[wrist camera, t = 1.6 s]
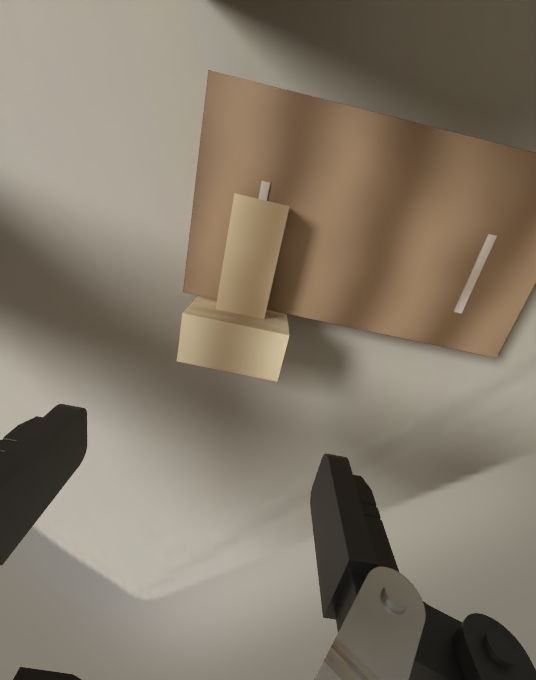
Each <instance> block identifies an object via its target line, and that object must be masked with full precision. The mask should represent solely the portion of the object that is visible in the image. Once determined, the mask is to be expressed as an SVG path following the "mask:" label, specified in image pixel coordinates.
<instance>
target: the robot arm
mask: <svg viewBox="0 0 536 680" xmlns="http://www.w3.org/2000/svg"><path fill="white" fill-rule="evenodd" d="M86 449H87V411H86V409H85V408H81V407H75V406H70V405H64V404H59V405H57V406H56V407H54V408H53V409H52V410H51V411H50V412H49V413H48V414H46V415H45V416H44V417H35V418H33V419H31V420H28V421H26V422H24V423H22V424H20V425H18V426H17V427H16V428H14V429H13V430H12V431H11V432H10V433H8V434H7V435H6V436H5V437H4V438H3V440H0V565H3V563H4V562H5V561H6V559H7V558H8V557H9V556H10V554H11V553H12V552H13V550H14V549H15V548H16V547H17V545H18V544H19V543H20V542H21V540H22V539H23V537H24V536H25V535H26V534H27V532H28V531H29V530H30V529H31V527H32V526H33V525H34V523H35V522H36V521H37V520H38V518H39V517H40V516H41V514H42V513H43V512H44V510H45V509H46V508H47V507H48V505H49V504H50V503H51V501H52V500H53V499H54V498H55V496H56V495H57V494H58V492H59V491H60V490H61V489H62V487H63V486H64V485H65V483H66V482H67V481H68V479H69V478H70V477H71V476H72V474H73V473H74V472H75V470H76V469H77V468H78V467H79V465H80V464H81V462H82V460H83V458H84V456H85V453H86ZM310 505H311V515H312V524H313V532H314V541H315V550H316V559H317V568H318V575H319V585H320V594H321V602H322V612H323V617H324V618H330V619H336V622H337V629H338V634H337V636H336V638H335V641H334V642H333V644H332V646H331V648H330V650H329V652H328V654H327V656H326V658H325V659H324V661H323V663H322V665H321V667H320V669H319V671H318V673H317V675H316V677H315V679H314V680H536V670H535V668H534V666H533V664H532V662H531V660H530V658H529V657H528V655H527V653H526V651H525V650H524V649H523V647H522V646H521V644H520V643H519V642H518V640H517V639H516V638H515V637H514V636H513V635H512V634H511V633H510V632H509V631H508V630H507V629H506V628H505V627H504V626H503V625H501V624H500V623H499V622H497V621H496V620H494V619H492V618H490V617H488V616H486V615H483V614H477V613H474V614H471V615H468V616H467V617H466V618H465V620H464V621H463V623H462V622H460V621H458V620H456V619H454V618H452V617H450V616H448V615H446V614H444V613H443V612H441V611H439V610H437V609H435V608H433V607H431V606H429V605H427V604H426V603H425V602H423V601H422V598H421V596H420V594H419V593H418V591H417V589H416V588H415V587H414V585H413V584H412V583H411V582H410V581H409V580H408V579H407V578H406V577H405V576H403V575H402V574H401V573H400V572H399V570H398V568H397V565H396V561H395V559H394V556H393V553H392V550H391V547H390V544H389V541H388V538H387V535H386V532H385V529H384V526H383V523H382V521H381V520H380V514H379V511H378V508H376V502H375V499H374V496H373V493H372V490H371V489H370V487H369V486H368V485H367V483H366V482H365V481H364V479H363V478H362V477H361V476H357V475H353V474H352V470H351V467H350V463H349V460H348V458H346V457H342V456H336V455H331V454H324V455H323V457H322V460H321V463H320V466H319V469H318V472H317V475H316V478H315V480H314V483H313V486H312V491H311V499H310ZM13 680H81V679H79V678H78V677H76V676H74V675H72V674H66V673H59V672H52V671H44V670H38V669H31V668H23V667H20V668H19V670H18V672H17V674H16V676H15V677H14V679H13Z"/></svg>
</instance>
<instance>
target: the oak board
mask: <svg viewBox="0 0 536 680" xmlns="http://www.w3.org/2000/svg"><path fill="white" fill-rule="evenodd" d="M234 193H236V194H240V195H244V196H248V197H253V198H257V199H261V200H265V201H270V202H274V203H278V204H282V205H286V206H290V207H289V211H288V216H287V220H286V224H285V229H284V233H283V238H282V242H281V247H280V251H279V256H278V260H277V265H276V269H275V273H274V278H273V282H272V287H271V291H270V296H269V300H268V305H267V309H266V310H271V311H276V312H281V313H285V314H290V315H295V316H300V317H304V318H309V319H314V320H319V321H323V322H328V323H333V324H338V325H343V326H347V327H352V328H357V329H362V330H366V331H371V332H376V333H381V334H385V335H390V336H395V337H400V338H405V339H409V340H414V341H419V342H424V343H428V344H433V345H438V346H443V347H447V348H452V349H457V350H462V351H467V352H471V353H476V354H481V355H486V356H490V357H495V358H496V357H497V355H498V353H499V351H500V349H501V347H502V345H503V344H504V342H505V340H506V338H507V336H508V334H509V332H510V330H511V328H512V326H513V325H514V323H515V321H516V319H517V317H518V315H519V313H520V311H521V309H522V308H523V306H524V304H525V302H526V300H527V298H528V296H529V294H530V292H531V291H532V289H533V287H534V285H535V283H536V153H534V152H530V151H526V150H522V149H518V148H514V147H510V146H506V145H502V144H498V143H494V142H490V141H486V140H482V139H478V138H474V137H470V136H466V135H462V134H459V133H455V132H451V131H447V130H443V129H439V128H435V127H431V126H427V125H423V124H419V123H415V122H411V121H407V120H403V119H399V118H395V117H391V116H387V115H383V114H380V113H376V112H372V111H368V110H364V109H360V108H356V107H352V106H348V105H344V104H340V103H336V102H332V101H328V100H324V99H320V98H316V97H312V96H308V95H304V94H301V93H297V92H293V91H289V90H285V89H281V88H277V87H273V86H269V85H265V84H261V83H257V82H253V81H249V80H245V79H241V78H237V77H233V76H229V75H226V74H222V73H218V72H214V71H210V70H208V79H207V87H206V96H205V105H204V113H203V122H202V131H201V139H200V148H199V157H198V165H197V174H196V183H195V192H194V200H193V209H192V218H191V226H190V235H189V244H188V252H187V261H186V270H185V278H184V287H183V292H185V293H190V294H195V295H199V296H204V297H209V298H214V299H217V297H218V291H219V285H220V278H221V272H222V266H223V260H224V254H225V248H226V242H227V235H228V229H229V223H230V217H231V211H232V205H233V199H234Z"/></svg>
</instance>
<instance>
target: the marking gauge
mask: <svg viewBox="0 0 536 680" xmlns="http://www.w3.org/2000/svg"><path fill="white" fill-rule="evenodd" d="M289 207H290V206H286V205H282V204H278V203H274V202H270V201H265V200H261V199H257V198H253V197H248V196H244V195H240V194H236V193H234V199H233V205H232V211H231V217H230V223H229V229H228V235H227V242H226V248H225V254H224V260H223V266H222V272H221V278H220V285H219V291H218V297H217V299H214V298H209V297H204V296H199V295H198V296H197V297H196V298H195V300H194V301H193V302H192V303H191V304H190V305H189V306H188V307H187V308H186V310H185V311H184V312H183V313H182V321H181V329H180V337H179V345H178V353H177V362H182V363H187V364H192V365H197V366H202V367H207V368H212V369H217V370H222V371H227V372H232V373H237V374H242V375H247V376H252V377H257V378H262V379H267V380H272V381H276V382H278V378H279V374H280V370H281V366H282V363H283V359H284V355H285V351H286V347H287V343H288V340H289V336H290V335H289V327H288V319H287V314H285V313H281V312H276V311H271V310H266V309H267V305H268V300H269V296H270V291H271V287H272V282H273V278H274V273H275V269H276V265H277V260H278V256H279V251H280V247H281V242H282V238H283V233H284V229H285V224H286V220H287V216H288V211H289Z"/></svg>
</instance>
